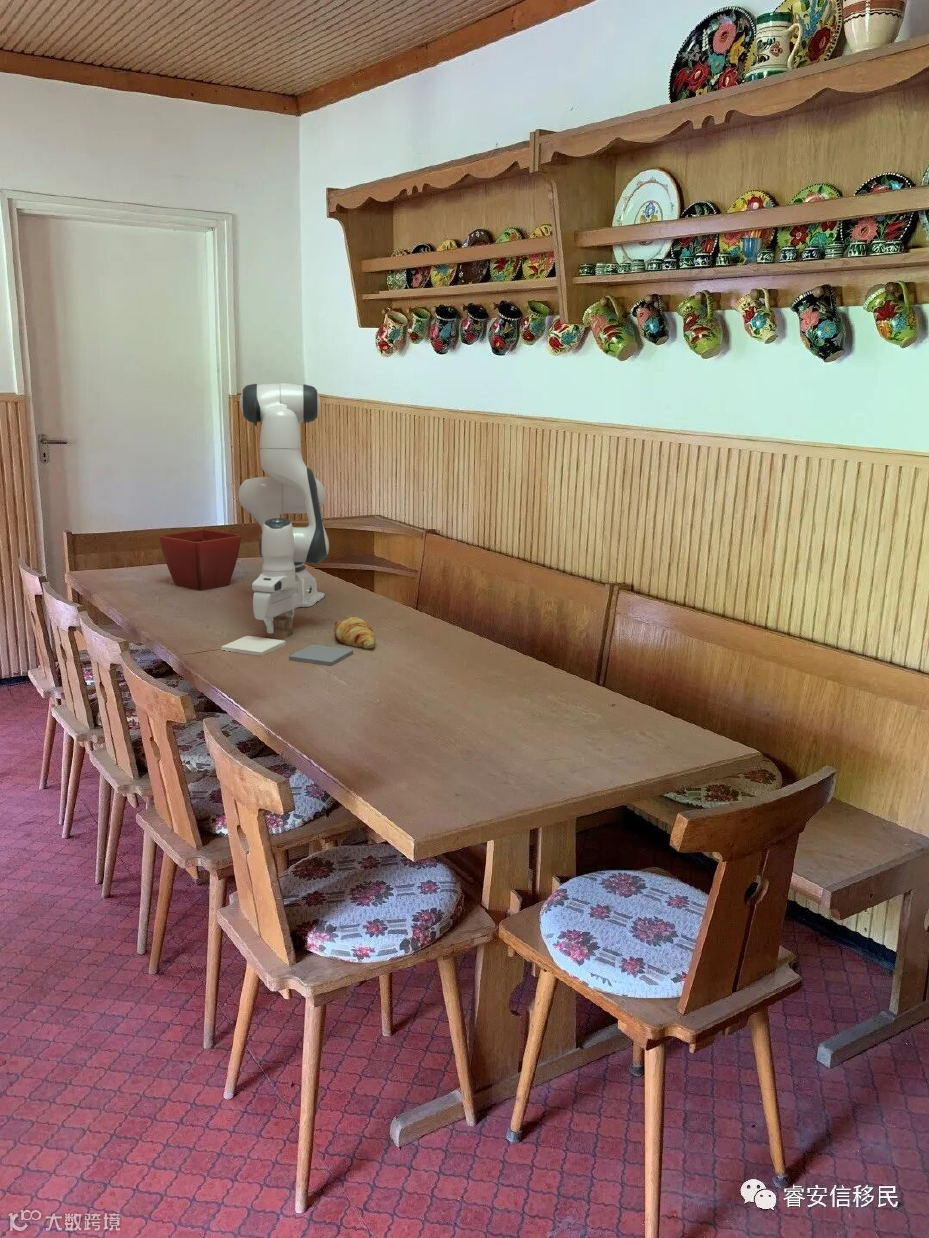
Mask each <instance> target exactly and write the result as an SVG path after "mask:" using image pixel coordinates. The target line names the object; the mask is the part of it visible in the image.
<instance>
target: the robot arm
mask: <svg viewBox="0 0 929 1238" xmlns="http://www.w3.org/2000/svg"><path fill="white" fill-rule="evenodd" d="M321 404H322V403H321V397H320V395H319V393H318V390H317V388H316V387H315V386H313V385H309V384H295V383H288V382H280V383H262V384H257V383H253V384H252V383H251V384H247V385H245V386H244V388H242V392H241V393H240V397H239V408H240V411H241V413H242V415H243V416H242V417H243V418H244V419H245V420H247V422H249V423H252V424H253V425H254V426H255V427H258V423H261V427H260V437H259V456H260V465H261V468H262V470H263V472H264V473H265V474H266V475H267V476H259V477H258V476H257V477H252V478H248V479H245V480H244V481H243V482H242V483H241V484H240V486H239V489H238V492H237V493H238V496H237V497H238V501H239V503H240V505H241V507H242V508H243V509H244V511H246V512H247V513H249V515H251V516H252V517H253V518H254V519H255V521H256V522H258V524H259V527H260V528H261V532H262V533H261V534H260V535H259V537H258V547H259V550H258V552H259V555H260V556H261V557H262V565H261V573H260V574H259V575H258V576H257V578H256V579H255V580H253V582H252V584H251V589H252V591H254V593H253V595H252V596H253V597H252V608H253V617H254V618H255V619H256V620H259V621H264V624H265V627H266V634H267V633H274V632H275V626H273V622H272V621H273V617H276V616H281V615H283V614H285V613H286V614H285V616H286V617H292V620H293V618H294V616H295V613H296V612H295V610H296V609H297V608H301V607H302V608H305V607H312V606H313V605H315V604H317V603H318V602H319V601H321V600H322V599H323V598H325V597H324V596H325V593H324V592H321V591H318V583H317V578H315V577H314V576H313V575H312V574H311V573H310V572H309V571H308V570H307V569H306V565H305V564H319V563H321V562H323V561H324V560H325V559H326V558H327V557H328V555H329V550H330V541H329V537H328V534H327V531H326V529H325V524H324V520H323V519H324V518H323V514H322V507H323V506H324V504H325V501H326V496H327V495H326V489H325V486H324V485H323V483H322V482H321V481H320V480H319V479H318V478H316V477H315V475H314V472H313V470H312V469H311V468H309V467H307V465H306V463H305V462H304V459H303V456H302V441H301V423H303V424H308V423H311V422H314V421H315V420H317V419H318V416H319V413H320V412H321V411H320V410H321ZM282 514H307V515H306V516H307V520H308V525H307V526H302V527H301V526H300V527H299V526H296V527H295V526H293V524H292V521H291V520H289V519H288V518H284V517H283V518H282V517H281V515H282ZM317 601H318V602H317ZM316 602H317V603H316Z"/></svg>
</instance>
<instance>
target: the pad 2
mask: <svg viewBox="0 0 929 1238" xmlns="http://www.w3.org/2000/svg"><path fill="white" fill-rule="evenodd" d="M352 655H354V649H350V648H344V647H335V646H327V645H319V644H313V643H312V644H311V645H309V646H306V647H305V648H303V649H300V650H297V651H296V652H294V653H293V654H291V655H289V656H288V660H289V661H294V662H301V663H309V664H315V665H323V666H327V667H329V666H330V667H332V666H334V665H335V664H337V663H339V662H341V661H343V660H344V659H346V658H348V657H350V656H352Z"/></svg>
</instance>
